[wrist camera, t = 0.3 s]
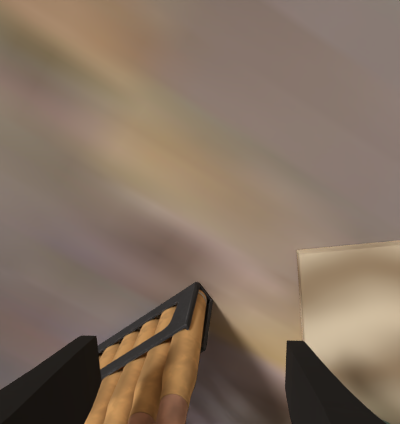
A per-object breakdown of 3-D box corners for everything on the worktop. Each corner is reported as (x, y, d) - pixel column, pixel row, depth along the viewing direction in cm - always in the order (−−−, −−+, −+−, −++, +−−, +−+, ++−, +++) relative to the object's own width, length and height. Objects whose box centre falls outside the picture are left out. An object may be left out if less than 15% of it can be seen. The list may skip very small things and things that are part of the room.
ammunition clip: (197, 280, 22) (164, 447, 10) (213, 300, 22) (199, 486, 10) (86, 353, 24) (-49, 560, 12) (101, 370, 24) (-16, 590, 12)
